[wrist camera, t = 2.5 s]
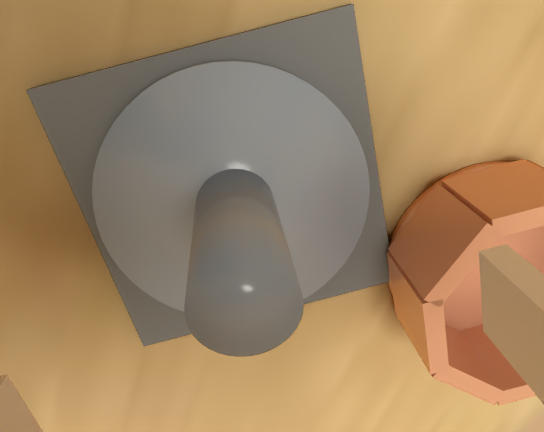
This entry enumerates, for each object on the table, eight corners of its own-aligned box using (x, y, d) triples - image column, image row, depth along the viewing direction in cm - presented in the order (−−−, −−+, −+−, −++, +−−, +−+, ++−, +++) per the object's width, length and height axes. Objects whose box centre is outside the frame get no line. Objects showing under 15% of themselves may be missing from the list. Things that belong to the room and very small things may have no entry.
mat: (30, 88, 20) (26, 90, 19) (350, 3, 20) (353, 3, 19) (145, 340, 26) (143, 346, 25) (390, 275, 26) (393, 280, 25)
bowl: (373, 191, 23) (414, 240, 18) (574, 138, 23) (669, 172, 18) (397, 348, 28) (436, 421, 23) (567, 304, 28) (641, 367, 23)
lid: (50, 102, 20) (-70, 171, 11) (340, 26, 20) (428, 40, 11) (151, 332, 25) (120, 492, 17) (379, 273, 25) (458, 403, 17)
